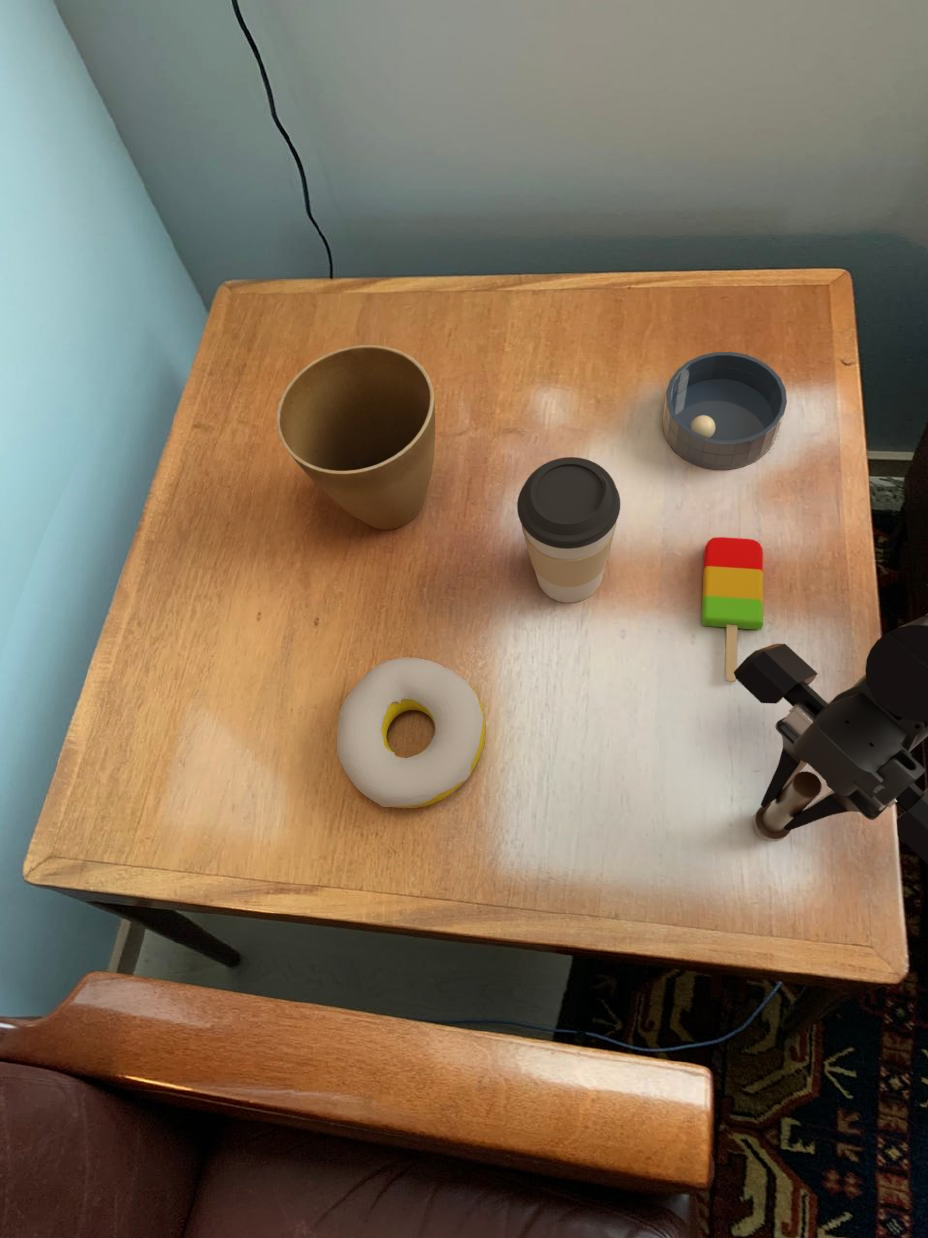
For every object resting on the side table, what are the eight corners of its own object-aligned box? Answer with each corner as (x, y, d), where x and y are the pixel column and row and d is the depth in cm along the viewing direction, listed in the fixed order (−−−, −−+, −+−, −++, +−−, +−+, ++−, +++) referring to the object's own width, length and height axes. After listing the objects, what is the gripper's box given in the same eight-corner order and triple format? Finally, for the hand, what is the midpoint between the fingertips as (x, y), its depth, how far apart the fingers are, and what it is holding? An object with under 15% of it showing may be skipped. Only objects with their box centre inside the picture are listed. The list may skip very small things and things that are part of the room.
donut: (444, 840, 77) (436, 828, 73) (315, 777, 81) (300, 762, 77) (511, 705, 82) (507, 686, 78) (386, 652, 86) (376, 630, 82)
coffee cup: (516, 604, 87) (505, 525, 73) (535, 528, 90) (527, 439, 77) (606, 619, 85) (611, 540, 71) (621, 540, 88) (629, 451, 75)
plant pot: (411, 424, 98) (382, 319, 84) (482, 512, 92) (464, 416, 78) (298, 490, 96) (248, 394, 82) (363, 586, 90) (322, 500, 76)
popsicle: (760, 547, 86) (764, 537, 85) (760, 687, 80) (764, 680, 78) (703, 543, 87) (705, 534, 86) (698, 682, 81) (701, 675, 79)
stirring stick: (769, 799, 75) (804, 755, 63) (797, 825, 73) (838, 786, 62) (745, 822, 74) (776, 783, 62) (772, 849, 73) (809, 814, 61)
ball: (700, 421, 93) (703, 405, 90) (718, 435, 92) (722, 419, 89) (683, 435, 92) (685, 420, 90) (701, 449, 91) (704, 434, 89)
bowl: (715, 362, 97) (721, 333, 93) (801, 423, 92) (811, 394, 88) (639, 424, 94) (642, 397, 90) (723, 489, 90) (730, 464, 86)
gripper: (777, 599, 57) (642, 751, 65) (1023, 818, 50) (835, 960, 58) (831, 585, 66) (705, 721, 74) (1048, 770, 58) (881, 900, 66)
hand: (774, 816), depth 68 cm, fingers closed on stirring stick, 2 cm apart
